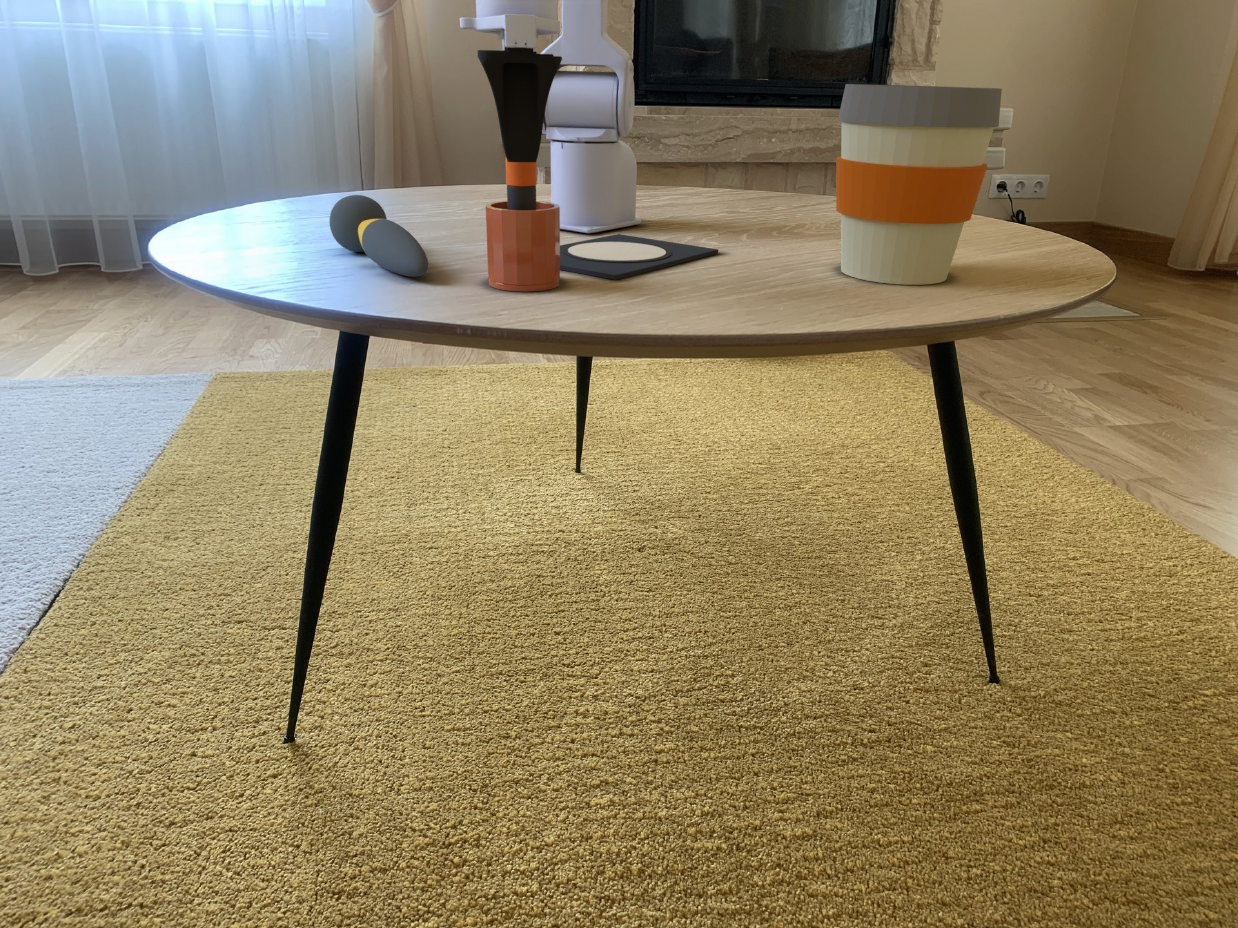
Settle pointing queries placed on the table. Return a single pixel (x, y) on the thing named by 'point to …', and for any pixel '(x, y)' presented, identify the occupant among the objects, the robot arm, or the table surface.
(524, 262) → the pen pot
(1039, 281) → the table surface
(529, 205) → the marker
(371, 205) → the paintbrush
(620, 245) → the dark grey rectangular pad
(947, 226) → the reusable coffee cup
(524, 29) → the robot arm
